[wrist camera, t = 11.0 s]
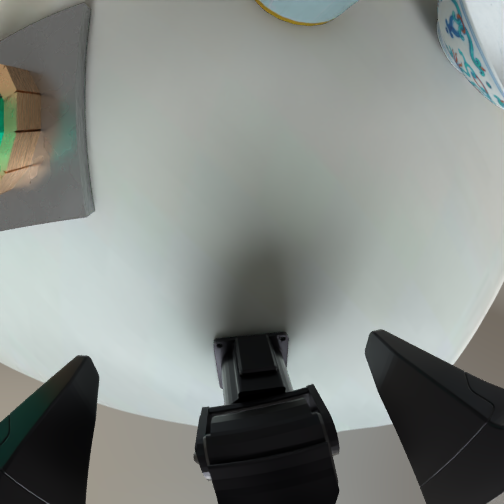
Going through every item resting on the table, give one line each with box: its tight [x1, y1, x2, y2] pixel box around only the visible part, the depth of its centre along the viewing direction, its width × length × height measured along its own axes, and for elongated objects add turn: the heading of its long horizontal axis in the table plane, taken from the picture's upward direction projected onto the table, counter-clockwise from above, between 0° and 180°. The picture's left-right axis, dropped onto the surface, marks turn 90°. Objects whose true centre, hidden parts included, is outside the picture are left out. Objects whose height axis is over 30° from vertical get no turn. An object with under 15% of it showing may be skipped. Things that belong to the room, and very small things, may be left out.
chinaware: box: [437, 0, 504, 110], centre depth 12 cm, size 15×15×8 cm
